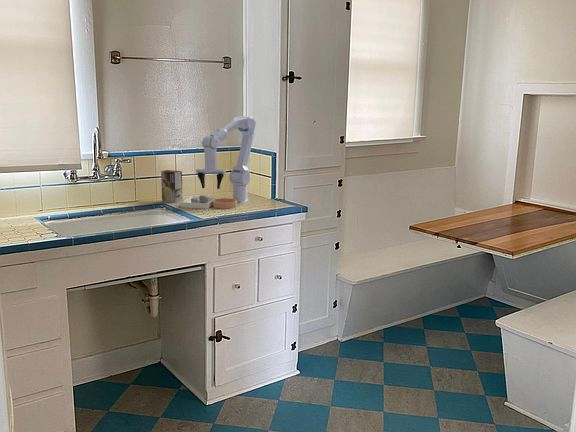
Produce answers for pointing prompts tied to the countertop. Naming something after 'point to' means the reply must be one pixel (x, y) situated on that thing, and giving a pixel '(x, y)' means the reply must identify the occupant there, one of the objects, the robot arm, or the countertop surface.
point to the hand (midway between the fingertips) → (210, 188)
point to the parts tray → (188, 203)
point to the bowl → (224, 203)
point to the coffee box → (171, 186)
